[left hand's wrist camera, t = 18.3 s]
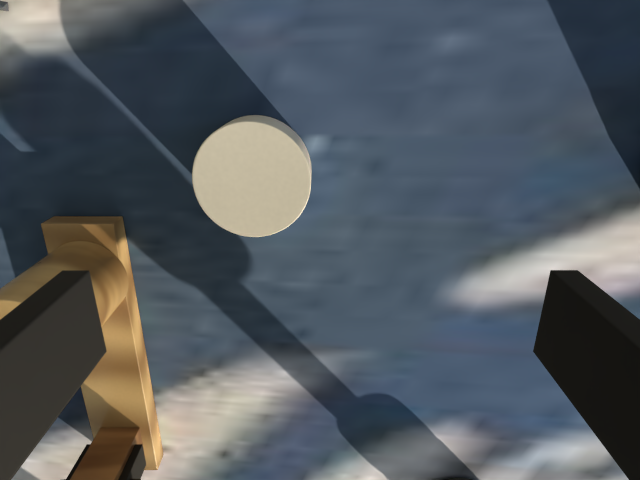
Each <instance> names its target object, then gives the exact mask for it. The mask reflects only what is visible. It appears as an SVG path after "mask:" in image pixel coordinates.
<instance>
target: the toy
mask: <svg viewBox="0 0 640 480" xmlns="http://www.w3.org/2000/svg"><path fill="white" fill-rule="evenodd" d="M0 10H4V11H9V10H8V2H3V1H0Z"/></svg>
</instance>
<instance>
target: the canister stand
mask: <svg viewBox="0 0 640 480" xmlns="http://www.w3.org/2000/svg"><path fill="white" fill-rule="evenodd" d="M41 227H42V231H43V235H44V239H45V243H46V247H47V251H48V255H47V256H46V257H44V258H43V259H41V260H40V261H38V262H37V263H36V264H34V265H33V266H31V267H30V268H29V269H27V270H26V271H24V272H23V273H22V274H20V275H19V276H17V277H16V278H15V279H13V280H12V281H10V282H9V283H8V284H6V285H5V286H3V287H2V288H1V289H0V320H1V319H2V318H3V317H4V316H6V315H7V314H8V313H9V312H11V311H12V310H13V309H14V308H16V307H17V306H18V305H19V304H21V303H22V302H23V301H24V300H26V299H27V298H28V297H30V296H31V295H32V294H33V293H35V292H36V291H37V290H38V289H40V288H41V287H42V286H43V285H45V284H46V283H47V282H48V281H50V280H51V279H52V278H53V277H55V276H56V275H57V274H59V273H60V272H61V271H62V270H89V271H90V276H91V281H92V285H93V290H94V295H95V299H96V304H97V308H98V313H99V318H100V322H101V327H102V332H103V336H104V341H105V345H106V350H107V352H106V353H105V354H104V356H103V357H102V358H101V360H100V361H99V362H98V364H97V365H96V366H95V368H94V369H93V370H92V372H91V373H90V374H89V376H88V377H87V378H86V380H85V381H84V383H83V384H82V385H81V389H82V393H83V397H84V402H85V406H86V410H87V414H88V418H89V422H90V426H91V430H92V434H93V438H94V440H93V441H92V443H91V445H90V446H89V448H88V450H87V452H86V453H85V455H84V457H83V458H82V460H81V462H80V463H79V465H78V467H77V468H76V470H75V472H74V474H73V475H72V477H71V479H70V480H118V479H119V477H120V475H121V473H122V471H123V469H124V467H125V465H126V462H127V460H128V458H129V456H130V454H131V452H132V450H133V448H134V445H135V444H143V449H144V454H145V460H146V466H145V469H144V470H158V467H159V465H160V462H161V459H162V457H163V450H162V444H161V438H160V432H159V427H158V421H157V415H156V409H155V403H154V397H153V392H152V386H151V380H150V374H149V368H148V362H147V356H146V351H145V345H144V339H143V333H142V327H141V321H140V315H139V310H138V304H137V298H136V292H135V286H134V280H133V275H132V269H131V263H130V257H129V251H128V245H127V239H126V234H125V228H124V222H123V217H122V216H54V217H52V218H50V219H48V220H47V221H45V222H43V223H42V224H41Z"/></svg>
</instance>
